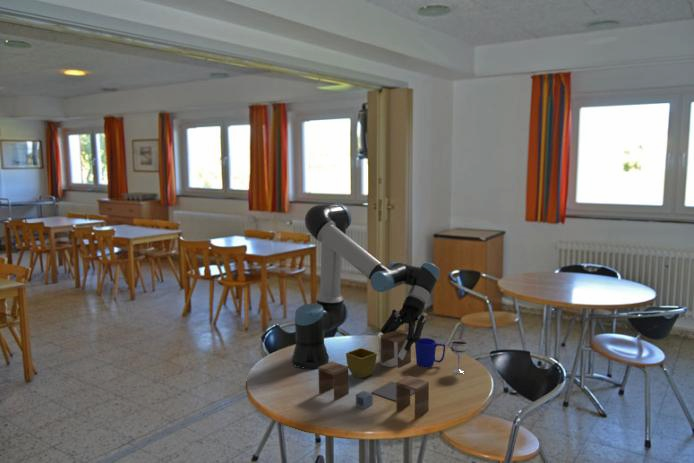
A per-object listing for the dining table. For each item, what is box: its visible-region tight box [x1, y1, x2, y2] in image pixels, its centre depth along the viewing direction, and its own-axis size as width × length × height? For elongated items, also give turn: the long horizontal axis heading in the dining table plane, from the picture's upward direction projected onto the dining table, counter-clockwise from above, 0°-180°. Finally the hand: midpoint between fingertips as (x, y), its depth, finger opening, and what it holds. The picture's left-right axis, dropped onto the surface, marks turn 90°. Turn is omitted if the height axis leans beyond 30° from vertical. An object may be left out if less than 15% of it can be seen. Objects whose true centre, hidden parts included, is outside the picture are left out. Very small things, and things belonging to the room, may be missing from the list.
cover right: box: [395, 375, 430, 419], centre depth 177 cm, size 8×7×10 cm
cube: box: [355, 390, 373, 410], centre depth 182 cm, size 4×4×4 cm
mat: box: [371, 380, 415, 402], centre depth 192 cm, size 12×12×1 cm
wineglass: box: [449, 338, 469, 374], centre depth 209 cm, size 7×7×12 cm
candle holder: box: [377, 331, 398, 368], centre depth 219 cm, size 10×10×12 cm
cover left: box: [317, 361, 350, 401], centre depth 191 cm, size 8×7×10 cm
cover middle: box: [381, 330, 412, 369], centre depth 190 cm, size 8×7×10 cm
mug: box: [414, 337, 446, 368], centre depth 216 cm, size 8×12×10 cm
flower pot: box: [345, 347, 378, 379], centre depth 207 cm, size 9×9×9 cm
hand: (390, 355), depth 188 cm, fingers closed on cover middle, 8 cm apart
